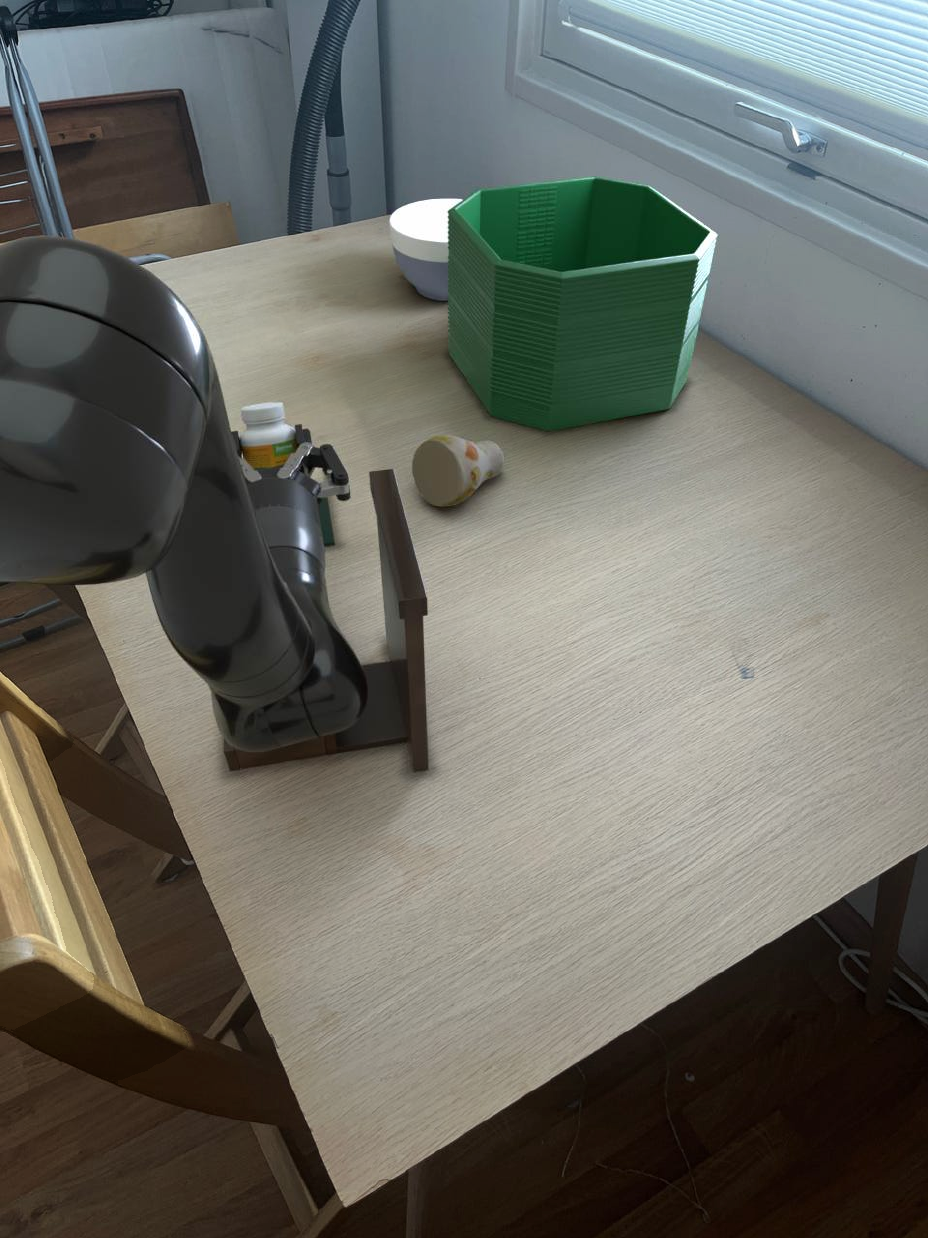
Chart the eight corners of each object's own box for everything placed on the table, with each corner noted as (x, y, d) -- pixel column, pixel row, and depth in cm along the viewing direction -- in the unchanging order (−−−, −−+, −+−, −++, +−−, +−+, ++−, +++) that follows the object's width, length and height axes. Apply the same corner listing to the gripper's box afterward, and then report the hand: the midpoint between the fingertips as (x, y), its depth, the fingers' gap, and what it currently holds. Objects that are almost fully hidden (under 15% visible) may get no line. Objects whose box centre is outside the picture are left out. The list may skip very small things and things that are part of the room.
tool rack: (230, 803, 64) (175, 631, 52) (227, 665, 74) (180, 492, 62) (432, 769, 67) (427, 597, 54) (403, 640, 76) (393, 468, 64)
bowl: (474, 320, 120) (475, 250, 113) (372, 298, 124) (367, 229, 118) (519, 276, 130) (523, 209, 123) (423, 257, 135) (422, 191, 128)
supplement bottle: (288, 512, 83) (268, 409, 80) (242, 512, 86) (221, 412, 82) (318, 497, 88) (301, 399, 84) (274, 497, 90) (255, 401, 87)
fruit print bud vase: (523, 479, 94) (511, 434, 84) (456, 539, 93) (435, 501, 84) (478, 436, 96) (461, 388, 87) (412, 494, 96) (387, 452, 86)
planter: (505, 440, 99) (513, 282, 86) (435, 336, 116) (433, 192, 103) (708, 403, 105) (744, 249, 92) (613, 309, 122) (632, 170, 110)
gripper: (360, 497, 71) (338, 392, 83) (177, 519, 69) (182, 408, 80) (367, 568, 76) (345, 460, 88) (197, 590, 74) (199, 476, 86)
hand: (267, 436), depth 84 cm, fingers closed on supplement bottle, 5 cm apart
